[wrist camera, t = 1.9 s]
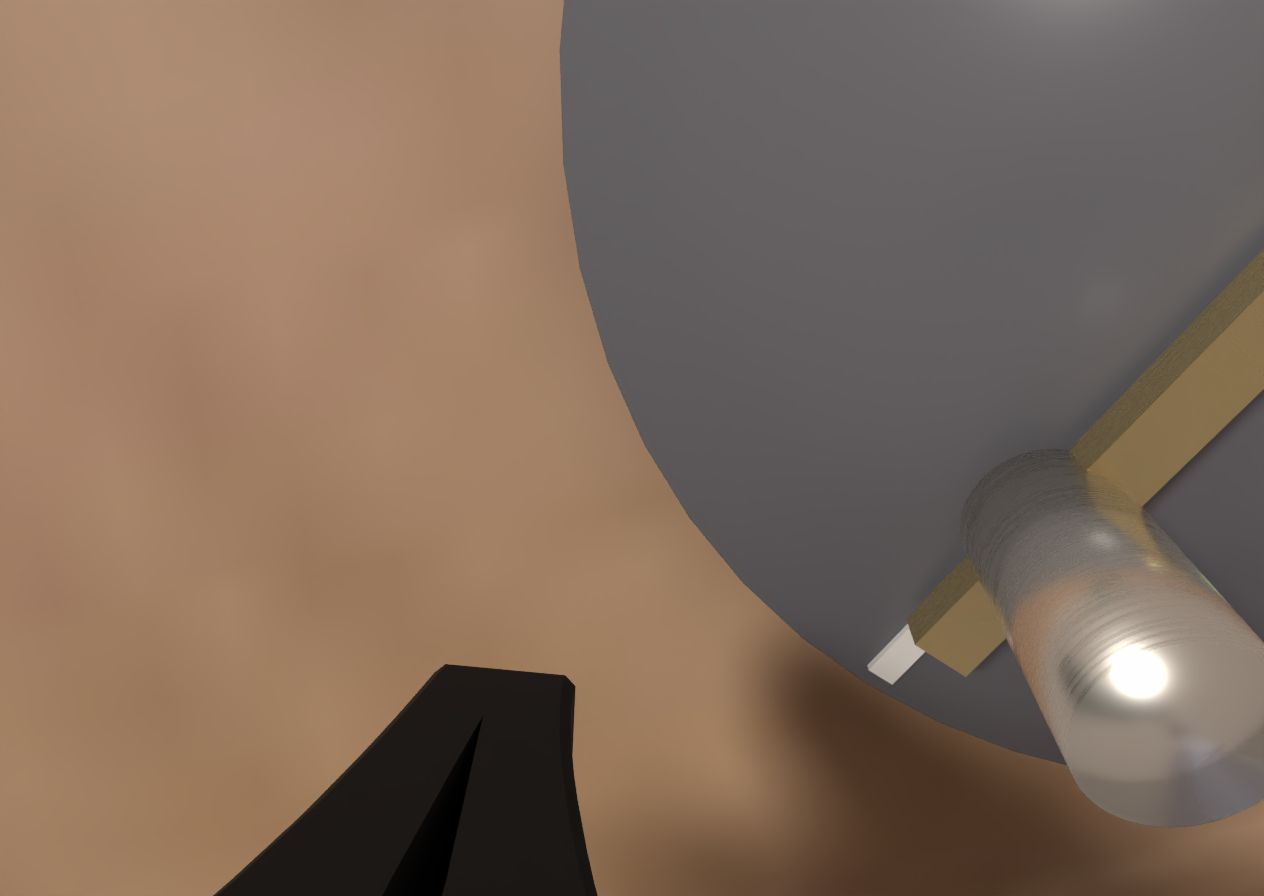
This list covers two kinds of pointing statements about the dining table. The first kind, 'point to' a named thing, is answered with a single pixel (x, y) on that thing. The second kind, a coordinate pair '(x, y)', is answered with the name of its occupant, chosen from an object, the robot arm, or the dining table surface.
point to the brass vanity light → (1123, 589)
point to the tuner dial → (911, 280)
